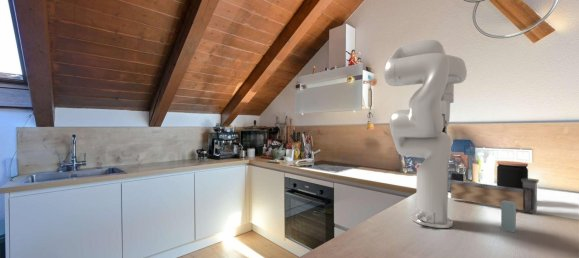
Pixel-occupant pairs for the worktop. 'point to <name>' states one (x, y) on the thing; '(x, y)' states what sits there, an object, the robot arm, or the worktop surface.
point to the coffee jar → (511, 174)
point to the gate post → (531, 185)
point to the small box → (454, 178)
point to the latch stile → (508, 216)
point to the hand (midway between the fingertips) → (442, 142)
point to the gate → (490, 194)
